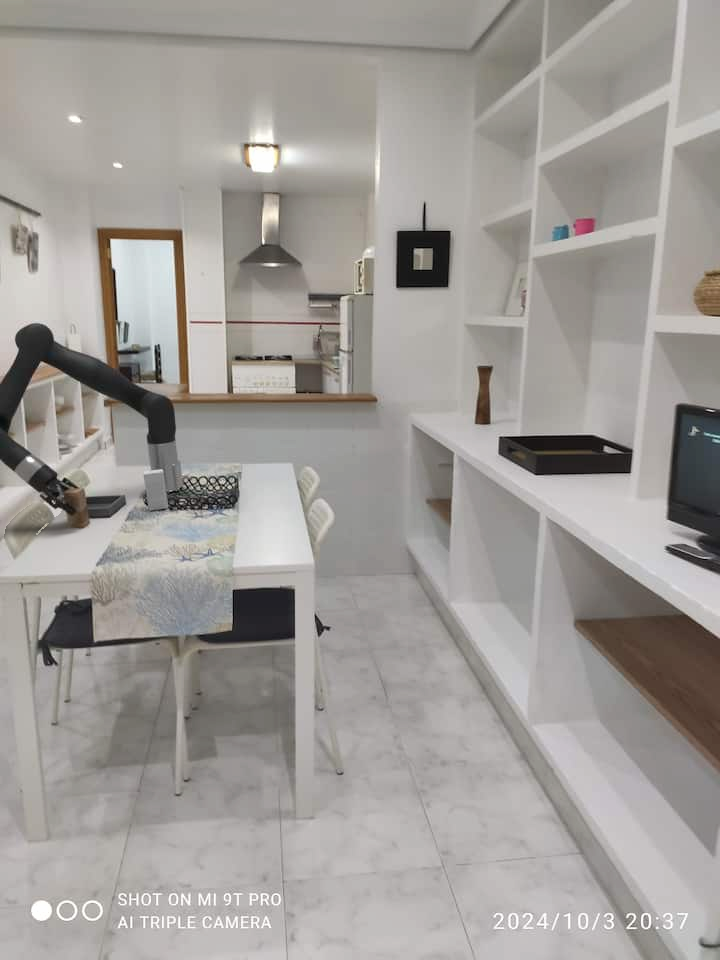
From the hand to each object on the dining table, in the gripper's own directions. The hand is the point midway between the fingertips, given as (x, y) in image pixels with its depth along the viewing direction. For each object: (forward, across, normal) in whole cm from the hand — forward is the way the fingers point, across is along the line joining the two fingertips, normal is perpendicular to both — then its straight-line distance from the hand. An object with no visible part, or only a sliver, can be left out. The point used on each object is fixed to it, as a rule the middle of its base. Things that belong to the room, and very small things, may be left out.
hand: (80, 509), depth 206 cm
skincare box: (+16, +15, -9) cm, 24 cm away
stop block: (+3, 0, +5) cm, 5 cm away
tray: (+3, +14, +5) cm, 15 cm away
